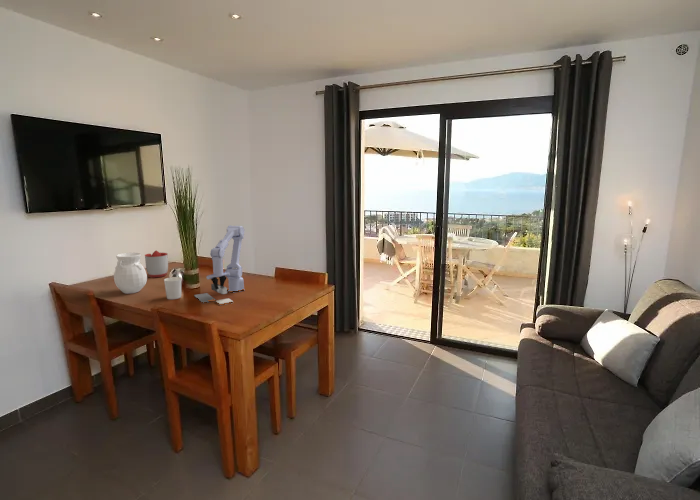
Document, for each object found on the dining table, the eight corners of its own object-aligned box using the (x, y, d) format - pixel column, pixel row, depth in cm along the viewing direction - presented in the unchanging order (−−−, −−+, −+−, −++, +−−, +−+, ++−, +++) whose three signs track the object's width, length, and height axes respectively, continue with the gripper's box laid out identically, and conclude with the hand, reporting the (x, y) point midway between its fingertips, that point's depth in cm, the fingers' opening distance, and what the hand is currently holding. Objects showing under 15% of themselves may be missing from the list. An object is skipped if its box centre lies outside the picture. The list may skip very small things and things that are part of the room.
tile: (228, 298, 226) (233, 301, 220) (229, 300, 226) (233, 303, 221) (215, 300, 221) (219, 303, 215) (216, 303, 221) (220, 306, 216)
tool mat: (206, 293, 237) (206, 292, 237) (216, 300, 224) (216, 300, 224) (194, 295, 233) (194, 295, 232) (202, 303, 219) (202, 302, 219)
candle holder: (163, 300, 223) (162, 281, 221) (167, 295, 232) (165, 277, 230) (181, 299, 226) (179, 280, 223) (183, 294, 235) (182, 276, 233)
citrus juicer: (165, 272, 291) (164, 247, 288) (171, 276, 278) (169, 251, 275) (144, 274, 281) (141, 249, 278) (148, 279, 268) (146, 253, 265)
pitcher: (133, 296, 229) (129, 258, 224) (108, 294, 232) (104, 256, 228) (154, 288, 247) (151, 252, 242) (131, 286, 250) (127, 251, 246)
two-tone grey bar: (216, 288, 232) (215, 283, 232) (227, 293, 223) (226, 287, 222) (211, 289, 230) (211, 284, 229) (222, 294, 221) (222, 288, 220)
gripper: (225, 264, 232) (226, 284, 234) (203, 267, 221) (204, 289, 223) (231, 266, 227) (232, 287, 229) (209, 269, 216) (210, 291, 219)
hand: (219, 288), depth 226 cm, fingers closed on two-tone grey bar, 3 cm apart
